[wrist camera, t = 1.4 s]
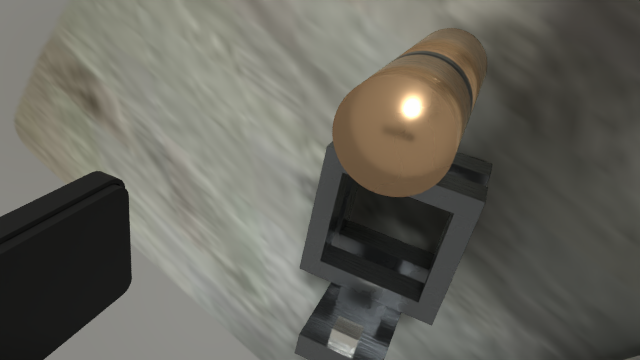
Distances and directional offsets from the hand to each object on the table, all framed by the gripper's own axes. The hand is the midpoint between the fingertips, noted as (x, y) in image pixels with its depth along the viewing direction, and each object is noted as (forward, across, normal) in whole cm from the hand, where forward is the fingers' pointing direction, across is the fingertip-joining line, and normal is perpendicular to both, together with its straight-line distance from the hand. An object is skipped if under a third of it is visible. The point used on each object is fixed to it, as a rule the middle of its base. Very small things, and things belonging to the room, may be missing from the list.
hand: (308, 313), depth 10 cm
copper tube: (+22, +1, 0) cm, 22 cm away
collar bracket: (+22, +1, +10) cm, 25 cm away
